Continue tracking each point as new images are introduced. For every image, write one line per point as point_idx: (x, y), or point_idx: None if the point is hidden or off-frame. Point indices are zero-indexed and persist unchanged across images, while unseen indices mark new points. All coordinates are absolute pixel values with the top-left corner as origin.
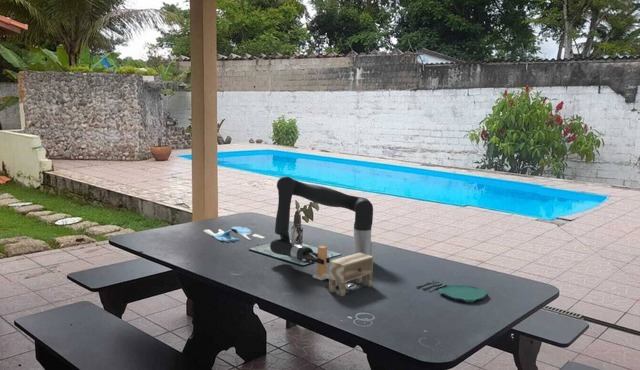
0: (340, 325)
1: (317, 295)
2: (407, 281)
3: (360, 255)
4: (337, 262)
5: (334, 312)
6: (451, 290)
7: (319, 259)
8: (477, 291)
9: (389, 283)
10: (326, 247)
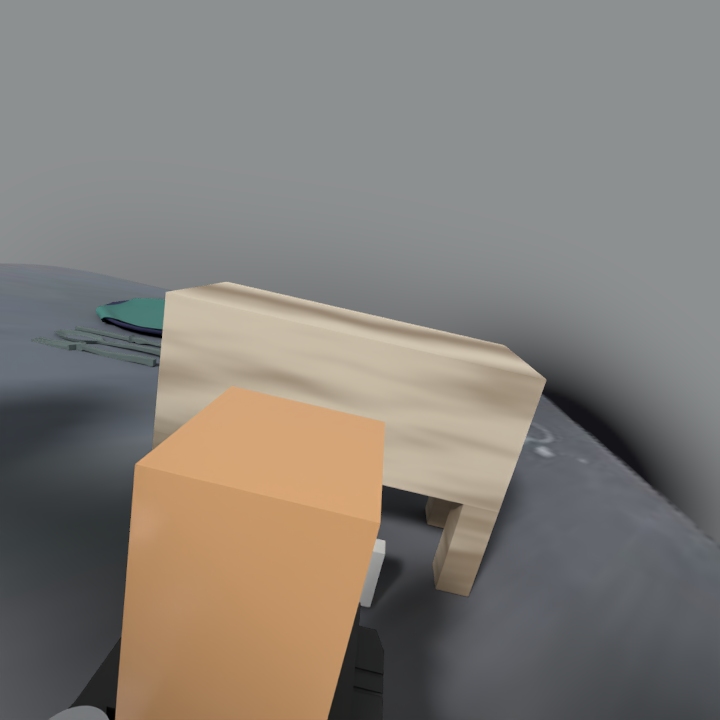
0: (601, 455)
1: (585, 622)
2: (63, 379)
3: (250, 299)
4: (507, 356)
5: (581, 486)
6: (155, 325)
7: (348, 708)
8: (142, 306)
9: (124, 415)
10: (244, 397)
